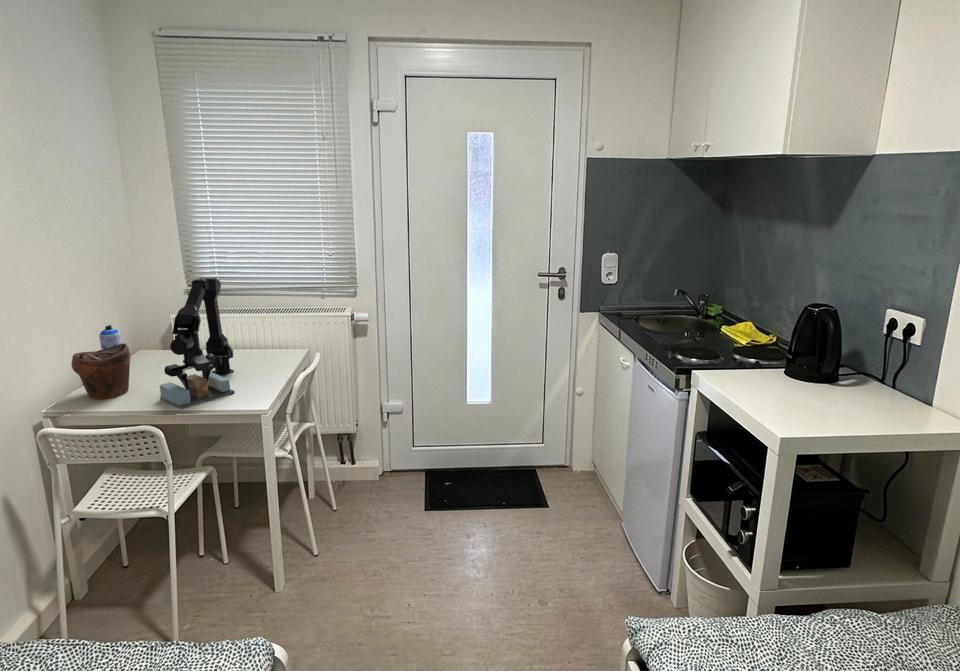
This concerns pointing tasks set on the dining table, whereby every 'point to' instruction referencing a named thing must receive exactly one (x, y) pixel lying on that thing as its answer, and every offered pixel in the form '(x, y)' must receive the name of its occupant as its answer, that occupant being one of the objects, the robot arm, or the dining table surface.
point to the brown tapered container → (104, 371)
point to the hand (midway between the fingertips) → (196, 387)
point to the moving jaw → (218, 382)
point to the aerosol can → (109, 337)
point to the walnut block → (197, 385)
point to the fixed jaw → (175, 393)
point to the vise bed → (195, 400)
